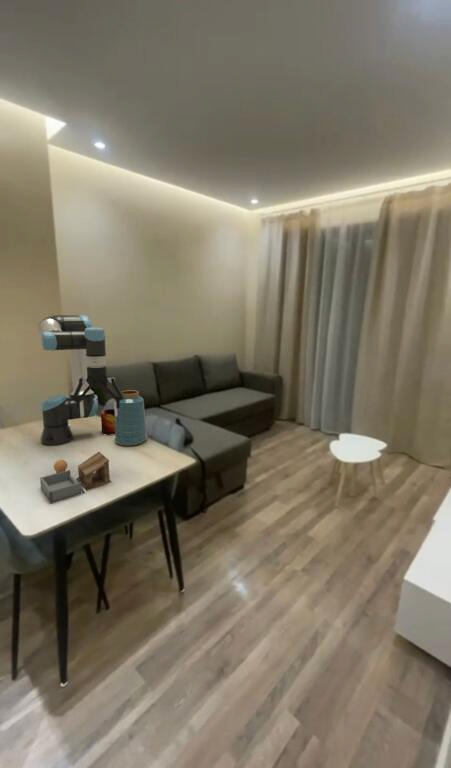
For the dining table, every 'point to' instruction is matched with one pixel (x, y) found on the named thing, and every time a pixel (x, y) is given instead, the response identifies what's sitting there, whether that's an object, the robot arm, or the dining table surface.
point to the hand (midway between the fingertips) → (99, 416)
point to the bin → (60, 486)
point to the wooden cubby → (90, 466)
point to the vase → (130, 420)
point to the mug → (108, 421)
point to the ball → (60, 466)
